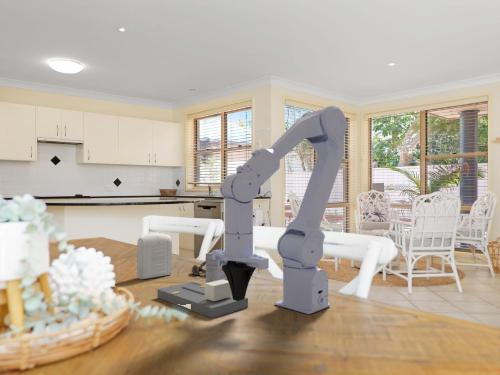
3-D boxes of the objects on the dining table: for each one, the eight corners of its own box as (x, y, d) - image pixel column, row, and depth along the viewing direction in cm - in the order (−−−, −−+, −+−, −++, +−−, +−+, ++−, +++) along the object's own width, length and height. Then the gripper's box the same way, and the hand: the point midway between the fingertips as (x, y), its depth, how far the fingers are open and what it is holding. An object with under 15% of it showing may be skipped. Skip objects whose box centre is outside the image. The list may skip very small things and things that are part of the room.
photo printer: (166, 272, 119) (166, 231, 119) (174, 274, 116) (174, 232, 116) (134, 278, 112) (134, 234, 112) (142, 280, 109) (142, 235, 109)
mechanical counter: (232, 260, 111) (239, 246, 121) (189, 254, 113) (199, 241, 123) (231, 283, 113) (238, 268, 123) (188, 277, 115) (198, 263, 125)
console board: (248, 307, 86) (248, 297, 86) (212, 318, 79) (212, 307, 79) (192, 289, 100) (192, 280, 100) (157, 297, 93) (157, 288, 93)
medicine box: (218, 288, 101) (218, 254, 101) (205, 285, 104) (205, 252, 104) (237, 282, 107) (237, 250, 107) (225, 280, 110) (225, 248, 110)
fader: (231, 296, 86) (231, 281, 86) (213, 301, 82) (213, 286, 82) (222, 293, 88) (222, 279, 88) (204, 298, 84) (204, 283, 84)
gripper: (201, 231, 83) (201, 296, 83) (250, 238, 72) (250, 312, 73) (226, 228, 88) (226, 289, 88) (275, 234, 77) (275, 303, 78)
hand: (238, 299), depth 81 cm, fingers closed
